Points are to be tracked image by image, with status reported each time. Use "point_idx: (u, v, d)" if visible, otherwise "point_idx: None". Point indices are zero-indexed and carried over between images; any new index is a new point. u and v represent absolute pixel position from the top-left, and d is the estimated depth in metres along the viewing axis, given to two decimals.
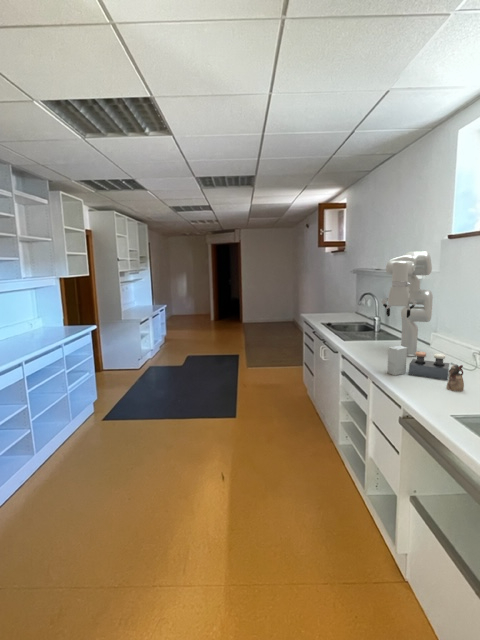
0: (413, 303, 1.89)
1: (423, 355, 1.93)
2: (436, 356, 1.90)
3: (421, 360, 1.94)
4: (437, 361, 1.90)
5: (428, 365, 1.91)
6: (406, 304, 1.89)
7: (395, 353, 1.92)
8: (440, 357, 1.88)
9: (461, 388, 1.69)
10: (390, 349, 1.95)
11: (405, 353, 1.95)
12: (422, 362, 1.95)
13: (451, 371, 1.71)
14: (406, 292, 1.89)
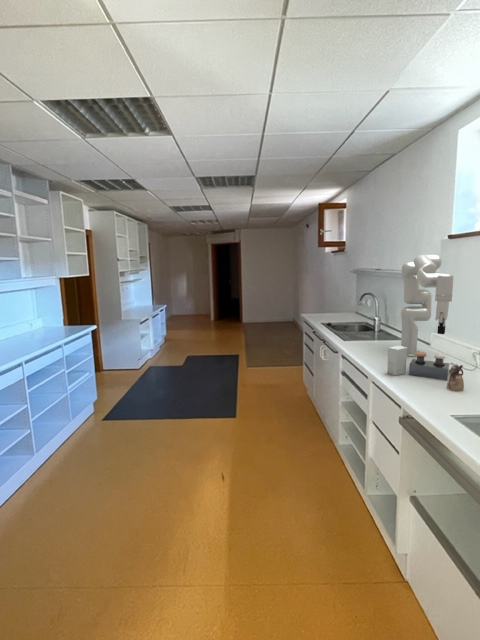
0: None
1: (423, 355, 1.93)
2: (436, 356, 1.90)
3: (421, 360, 1.94)
4: (437, 361, 1.90)
5: (428, 365, 1.91)
6: None
7: (395, 353, 1.92)
8: (440, 357, 1.88)
9: (461, 388, 1.69)
10: (390, 349, 1.95)
11: (405, 353, 1.95)
12: (422, 362, 1.95)
13: (451, 371, 1.71)
14: None
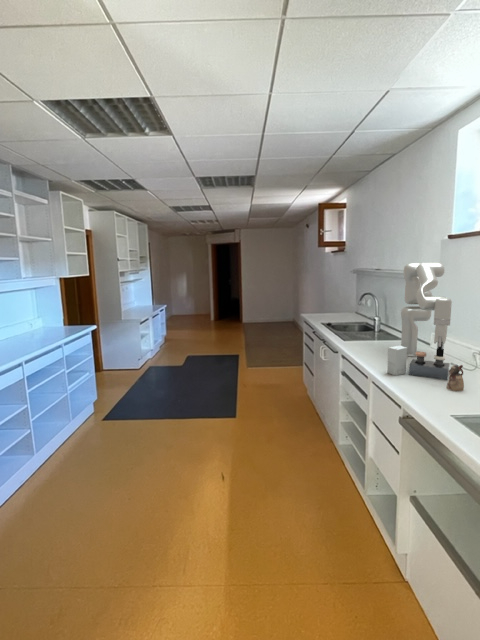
0: None
1: (423, 355, 1.93)
2: (436, 358, 1.90)
3: (421, 360, 1.94)
4: (437, 363, 1.90)
5: (428, 365, 1.91)
6: None
7: (395, 353, 1.92)
8: (440, 359, 1.89)
9: (461, 388, 1.69)
10: (390, 349, 1.95)
11: (405, 353, 1.95)
12: (422, 362, 1.95)
13: (451, 371, 1.71)
14: None
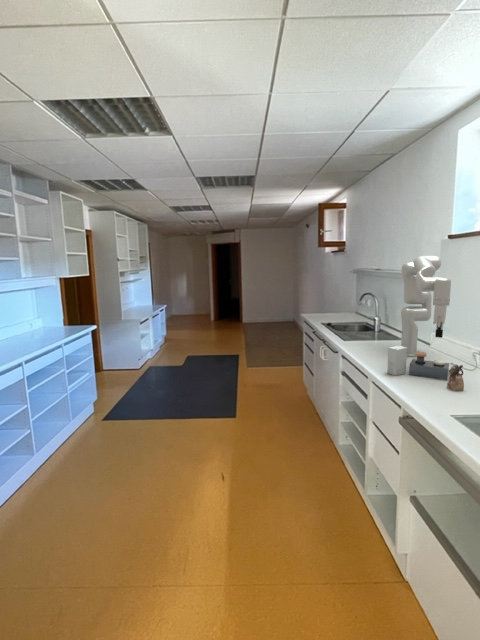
0: None
1: (423, 355, 1.93)
2: (436, 362, 1.90)
3: (421, 360, 1.94)
4: None
5: (428, 365, 1.91)
6: None
7: (395, 353, 1.92)
8: (440, 363, 1.89)
9: (461, 388, 1.69)
10: (390, 349, 1.95)
11: (405, 353, 1.95)
12: (422, 362, 1.95)
13: (451, 371, 1.71)
14: None
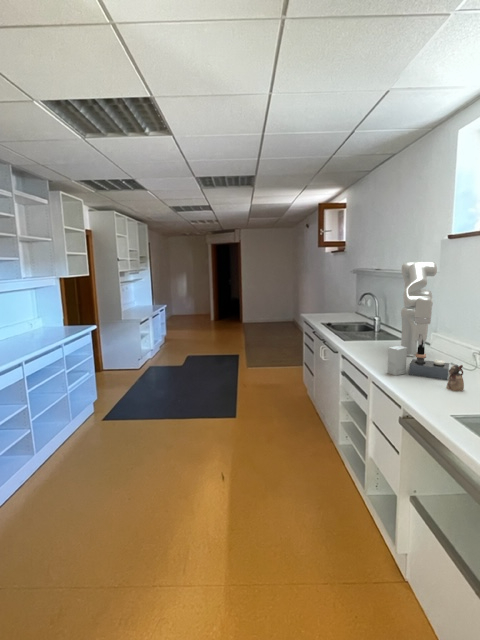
0: None
1: (423, 357, 1.93)
2: (436, 362, 1.90)
3: (421, 361, 1.94)
4: None
5: (428, 365, 1.91)
6: None
7: (395, 353, 1.92)
8: (440, 363, 1.89)
9: (461, 388, 1.69)
10: (390, 349, 1.95)
11: (405, 353, 1.95)
12: (422, 363, 1.95)
13: (451, 371, 1.71)
14: None
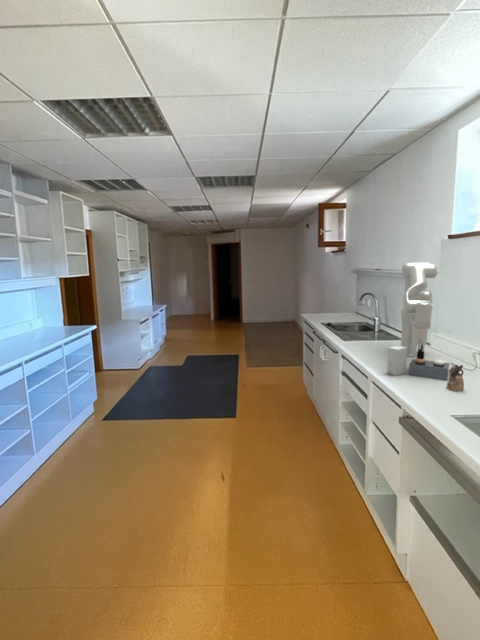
0: None
1: (423, 361, 1.94)
2: (436, 362, 1.90)
3: None
4: None
5: (428, 365, 1.91)
6: None
7: (395, 353, 1.92)
8: (440, 363, 1.89)
9: (461, 388, 1.69)
10: (390, 349, 1.95)
11: (405, 353, 1.95)
12: None
13: (451, 371, 1.71)
14: None
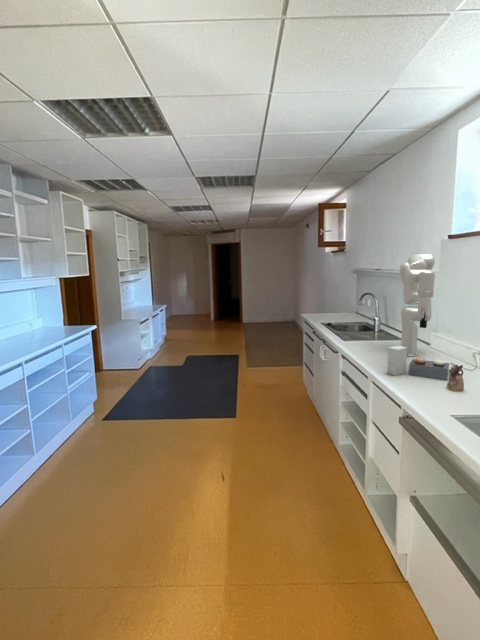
0: None
1: (423, 361, 1.94)
2: (436, 362, 1.90)
3: None
4: None
5: (428, 365, 1.91)
6: None
7: (395, 353, 1.92)
8: (440, 363, 1.89)
9: (461, 388, 1.69)
10: (390, 349, 1.95)
11: (405, 353, 1.95)
12: None
13: (451, 371, 1.71)
14: None
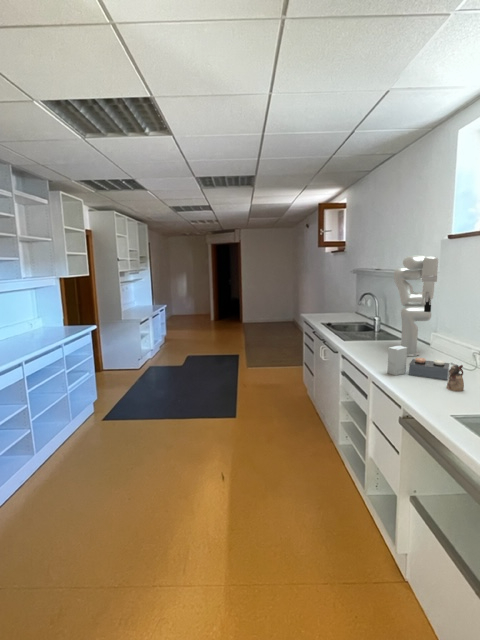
0: None
1: (423, 361, 1.94)
2: (436, 362, 1.90)
3: None
4: None
5: (428, 365, 1.91)
6: None
7: (395, 353, 1.92)
8: (440, 363, 1.89)
9: (461, 388, 1.69)
10: (390, 349, 1.95)
11: (405, 353, 1.95)
12: None
13: (451, 371, 1.71)
14: None
